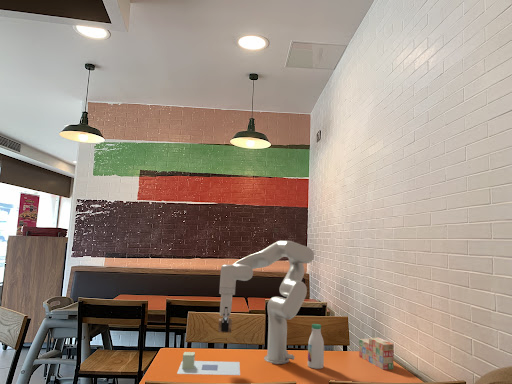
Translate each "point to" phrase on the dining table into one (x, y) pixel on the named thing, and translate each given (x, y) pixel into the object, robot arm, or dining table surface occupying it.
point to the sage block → (188, 360)
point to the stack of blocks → (377, 352)
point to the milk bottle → (316, 348)
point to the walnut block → (223, 322)
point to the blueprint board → (212, 368)
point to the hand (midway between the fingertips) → (224, 329)
